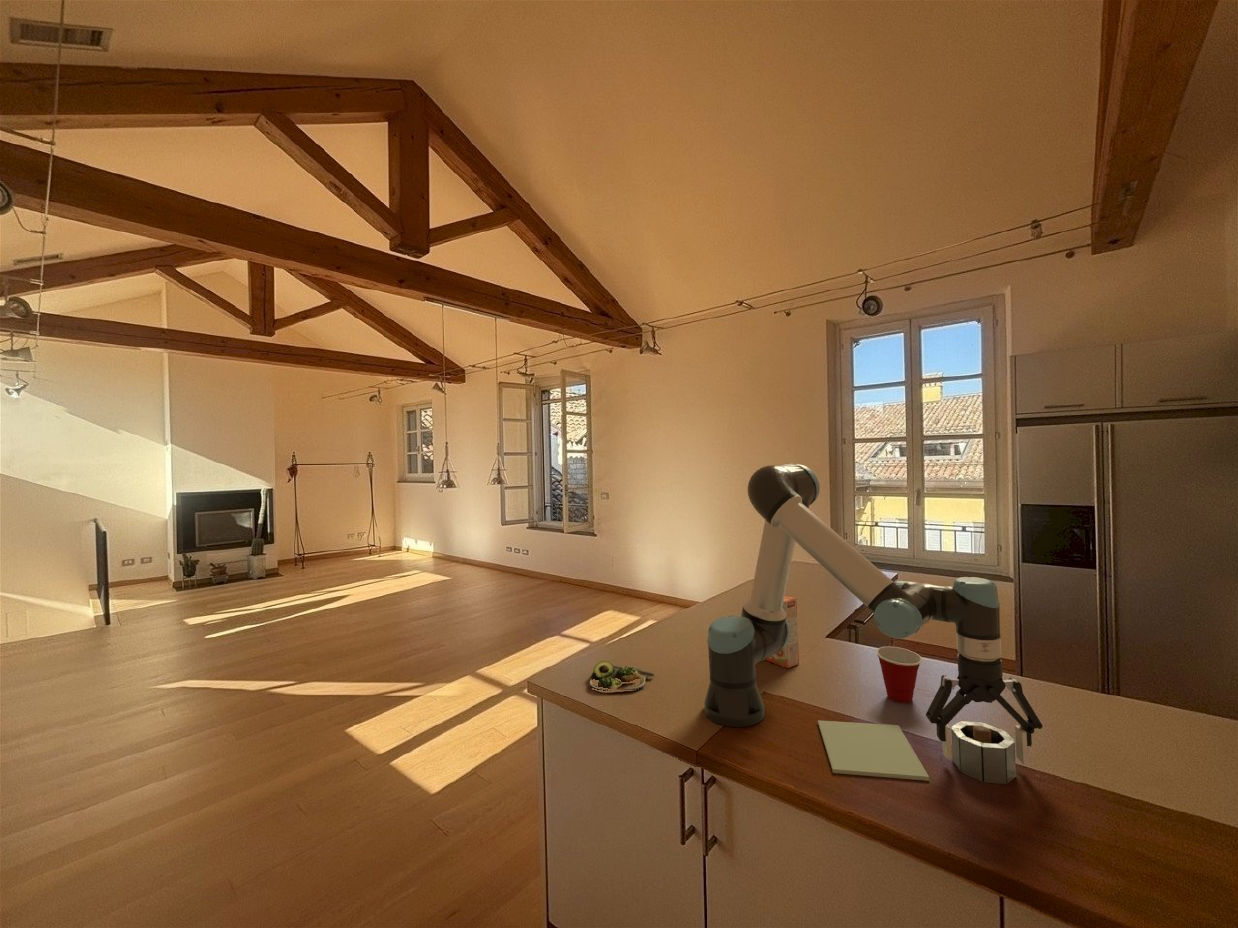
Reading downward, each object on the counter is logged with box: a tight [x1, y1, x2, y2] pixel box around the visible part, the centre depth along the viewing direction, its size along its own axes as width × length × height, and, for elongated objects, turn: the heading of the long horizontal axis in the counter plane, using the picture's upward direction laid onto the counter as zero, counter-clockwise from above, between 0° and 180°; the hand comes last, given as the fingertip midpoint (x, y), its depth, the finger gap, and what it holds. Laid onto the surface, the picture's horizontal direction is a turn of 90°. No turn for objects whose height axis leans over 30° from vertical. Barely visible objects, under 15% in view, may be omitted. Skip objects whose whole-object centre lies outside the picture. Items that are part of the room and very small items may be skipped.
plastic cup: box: [875, 646, 924, 704], centre depth 137 cm, size 11×11×12 cm
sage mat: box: [817, 720, 930, 782], centre depth 115 cm, size 18×20×1 cm
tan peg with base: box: [973, 726, 991, 744], centre depth 107 cm, size 5×5×8 cm
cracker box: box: [763, 595, 800, 669], centre depth 166 cm, size 14×6×21 cm, turn 33°
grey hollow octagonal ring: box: [950, 720, 1017, 785], centre depth 107 cm, size 10×10×7 cm
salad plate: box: [588, 660, 655, 691], centre depth 157 cm, size 19×18×5 cm
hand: (984, 758), depth 107 cm, fingers open, 13 cm apart
